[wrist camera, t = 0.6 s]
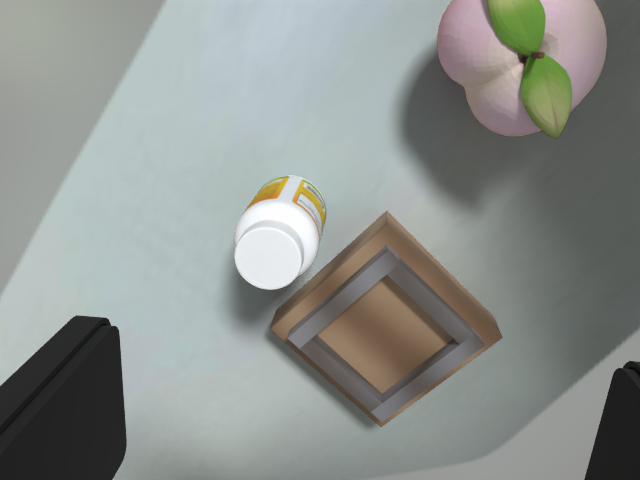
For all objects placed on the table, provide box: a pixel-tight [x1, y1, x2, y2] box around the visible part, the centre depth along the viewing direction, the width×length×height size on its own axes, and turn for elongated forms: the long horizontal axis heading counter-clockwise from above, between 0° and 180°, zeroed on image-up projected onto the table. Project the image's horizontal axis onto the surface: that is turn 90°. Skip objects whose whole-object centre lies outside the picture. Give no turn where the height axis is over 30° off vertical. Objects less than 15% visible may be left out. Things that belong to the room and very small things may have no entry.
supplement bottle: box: [234, 175, 326, 290], centre depth 36 cm, size 5×5×10 cm
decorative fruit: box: [437, 0, 607, 139], centre depth 31 cm, size 9×8×10 cm
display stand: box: [270, 211, 502, 427], centre depth 41 cm, size 12×12×4 cm
